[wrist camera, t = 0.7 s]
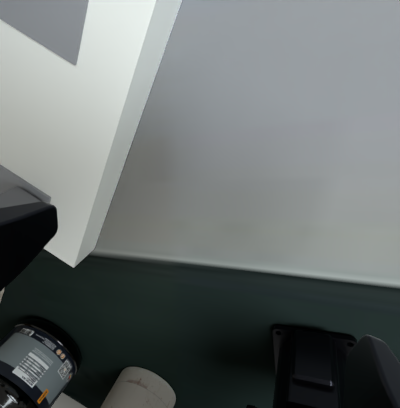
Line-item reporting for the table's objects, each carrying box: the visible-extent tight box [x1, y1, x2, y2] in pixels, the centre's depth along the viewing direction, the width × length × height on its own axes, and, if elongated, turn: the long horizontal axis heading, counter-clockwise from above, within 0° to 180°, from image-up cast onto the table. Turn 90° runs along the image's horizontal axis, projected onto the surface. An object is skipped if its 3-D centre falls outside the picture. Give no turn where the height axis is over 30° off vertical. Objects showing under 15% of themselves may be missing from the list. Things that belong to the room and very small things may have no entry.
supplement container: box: [0, 318, 81, 408], centre depth 36 cm, size 10×10×12 cm
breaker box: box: [0, 0, 182, 268], centre depth 21 cm, size 15×23×3 cm, turn 154°
